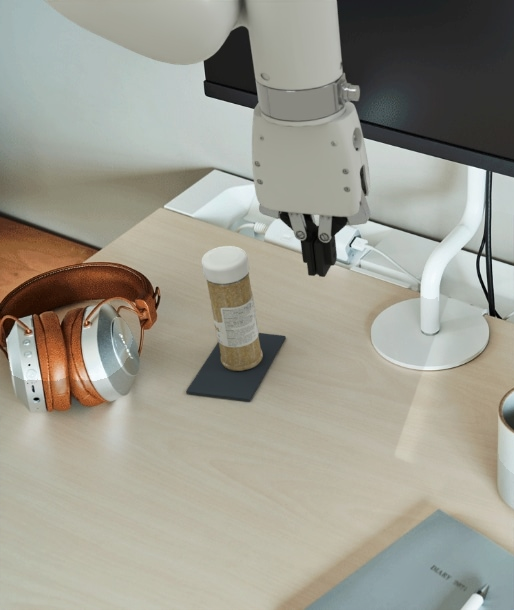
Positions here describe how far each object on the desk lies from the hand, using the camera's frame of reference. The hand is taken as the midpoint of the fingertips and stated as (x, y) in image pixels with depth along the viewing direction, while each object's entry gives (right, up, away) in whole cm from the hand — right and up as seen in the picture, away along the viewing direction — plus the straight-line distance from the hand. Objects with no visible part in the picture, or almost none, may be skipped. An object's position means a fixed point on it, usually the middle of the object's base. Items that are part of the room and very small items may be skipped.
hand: (321, 268), depth 92 cm
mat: (-11, -10, +9) cm, 17 cm away
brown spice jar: (-10, -10, +9) cm, 17 cm away
